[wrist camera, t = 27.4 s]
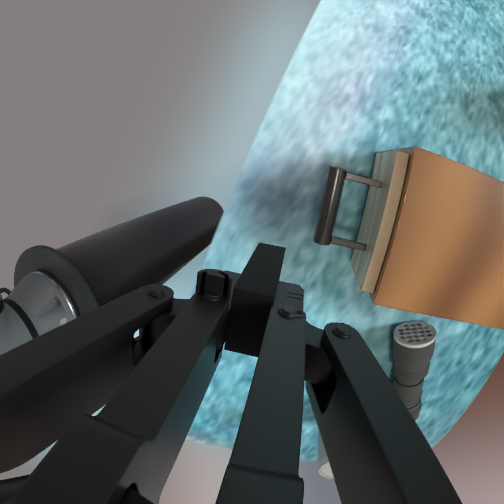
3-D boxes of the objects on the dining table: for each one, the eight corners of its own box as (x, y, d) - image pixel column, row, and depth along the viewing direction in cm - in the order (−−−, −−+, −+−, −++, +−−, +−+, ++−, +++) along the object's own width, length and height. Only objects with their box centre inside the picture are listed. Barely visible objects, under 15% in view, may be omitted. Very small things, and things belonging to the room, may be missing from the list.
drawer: (306, 253, 33) (305, 278, 26) (330, 141, 30) (338, 133, 22) (461, 289, 31) (489, 318, 24) (489, 192, 27) (527, 202, 20)
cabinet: (357, 268, 34) (372, 304, 25) (385, 150, 29) (414, 146, 20) (469, 294, 32) (504, 329, 23) (499, 193, 28) (546, 204, 18)
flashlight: (414, 403, 37) (422, 427, 32) (381, 408, 39) (386, 434, 33) (428, 318, 34) (442, 340, 28) (389, 324, 35) (399, 347, 30)
